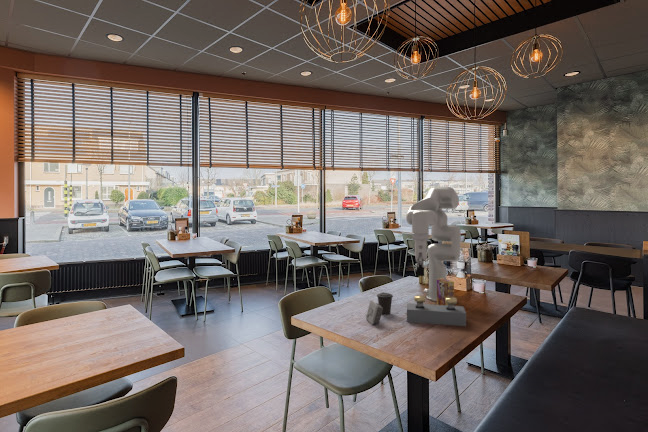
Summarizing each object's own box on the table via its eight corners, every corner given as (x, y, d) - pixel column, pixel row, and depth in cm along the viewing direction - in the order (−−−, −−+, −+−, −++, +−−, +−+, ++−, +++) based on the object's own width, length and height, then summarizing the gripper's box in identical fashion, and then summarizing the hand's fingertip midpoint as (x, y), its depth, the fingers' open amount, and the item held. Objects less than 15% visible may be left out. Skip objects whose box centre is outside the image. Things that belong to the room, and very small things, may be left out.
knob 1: (414, 311, 169) (414, 297, 169) (414, 308, 174) (414, 294, 174) (425, 312, 168) (425, 298, 167) (425, 308, 173) (425, 295, 172)
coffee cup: (383, 309, 187) (383, 290, 186) (396, 313, 181) (396, 293, 180) (373, 313, 181) (373, 293, 180) (386, 317, 175) (386, 296, 175)
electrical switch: (365, 318, 173) (367, 299, 173) (375, 319, 174) (377, 300, 174) (371, 325, 164) (373, 305, 164) (382, 325, 165) (384, 305, 165)
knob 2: (445, 313, 166) (445, 299, 165) (444, 310, 170) (444, 296, 170) (457, 314, 164) (457, 300, 164) (455, 310, 169) (456, 297, 169)
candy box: (454, 311, 183) (454, 281, 182) (447, 312, 181) (447, 282, 181) (442, 306, 191) (443, 277, 190) (436, 307, 190) (436, 278, 189)
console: (406, 322, 168) (406, 309, 167) (407, 315, 177) (407, 303, 177) (466, 326, 161) (466, 313, 161) (463, 318, 171) (463, 306, 171)
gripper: (429, 239, 160) (429, 278, 161) (427, 235, 176) (427, 270, 177) (412, 239, 161) (412, 277, 162) (412, 235, 178) (412, 269, 179)
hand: (420, 273), depth 170 cm, fingers open, 8 cm apart
